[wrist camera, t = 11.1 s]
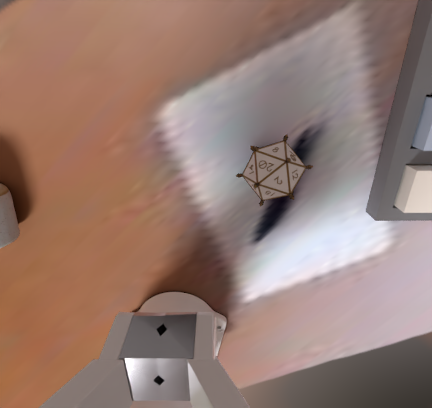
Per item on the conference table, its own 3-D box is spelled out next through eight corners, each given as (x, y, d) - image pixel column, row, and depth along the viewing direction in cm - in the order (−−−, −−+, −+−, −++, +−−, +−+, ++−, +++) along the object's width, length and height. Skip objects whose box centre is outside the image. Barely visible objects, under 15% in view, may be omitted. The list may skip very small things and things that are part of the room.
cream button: (432, 203, 42) (447, 212, 39) (391, 203, 42) (403, 212, 39) (447, 163, 39) (464, 170, 36) (403, 163, 39) (417, 170, 37)
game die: (253, 162, 45) (215, 189, 38) (277, 115, 39) (237, 137, 32) (300, 196, 43) (268, 231, 36) (333, 152, 37) (302, 185, 30)
